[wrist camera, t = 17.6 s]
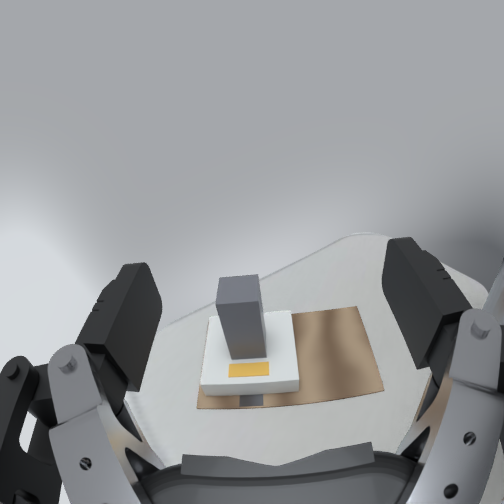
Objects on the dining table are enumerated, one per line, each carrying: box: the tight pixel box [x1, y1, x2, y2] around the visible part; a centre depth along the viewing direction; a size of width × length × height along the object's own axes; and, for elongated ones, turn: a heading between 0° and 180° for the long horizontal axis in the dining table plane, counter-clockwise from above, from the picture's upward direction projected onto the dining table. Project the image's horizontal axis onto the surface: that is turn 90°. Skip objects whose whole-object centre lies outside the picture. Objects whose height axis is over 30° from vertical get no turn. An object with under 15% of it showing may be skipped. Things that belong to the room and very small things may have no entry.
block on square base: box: [200, 274, 299, 396], centre depth 36 cm, size 12×12×13 cm
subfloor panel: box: [197, 306, 384, 409], centre depth 39 cm, size 24×16×1 cm, turn 90°
